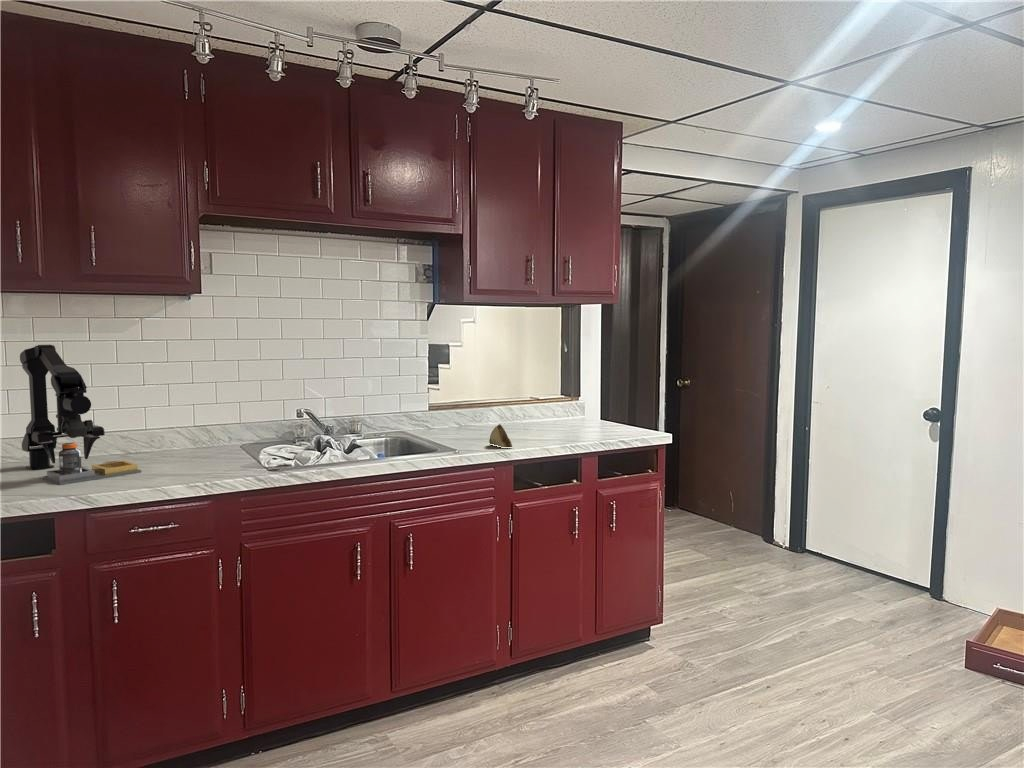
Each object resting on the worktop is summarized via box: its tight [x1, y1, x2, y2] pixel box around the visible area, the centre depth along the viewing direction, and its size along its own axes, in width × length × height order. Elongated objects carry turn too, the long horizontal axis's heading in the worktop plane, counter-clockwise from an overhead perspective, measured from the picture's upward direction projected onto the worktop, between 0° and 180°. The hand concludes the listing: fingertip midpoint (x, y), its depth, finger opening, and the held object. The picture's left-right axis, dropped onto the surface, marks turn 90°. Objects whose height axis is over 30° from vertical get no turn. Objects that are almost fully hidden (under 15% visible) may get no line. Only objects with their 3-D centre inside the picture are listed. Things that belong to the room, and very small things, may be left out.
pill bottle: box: [58, 442, 83, 475], centre depth 225 cm, size 6×6×11 cm
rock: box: [488, 423, 513, 447], centre depth 289 cm, size 11×9×10 cm
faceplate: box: [42, 460, 142, 486], centre depth 230 cm, size 13×24×2 cm, turn 141°
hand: (70, 461), depth 225 cm, fingers open, 9 cm apart
